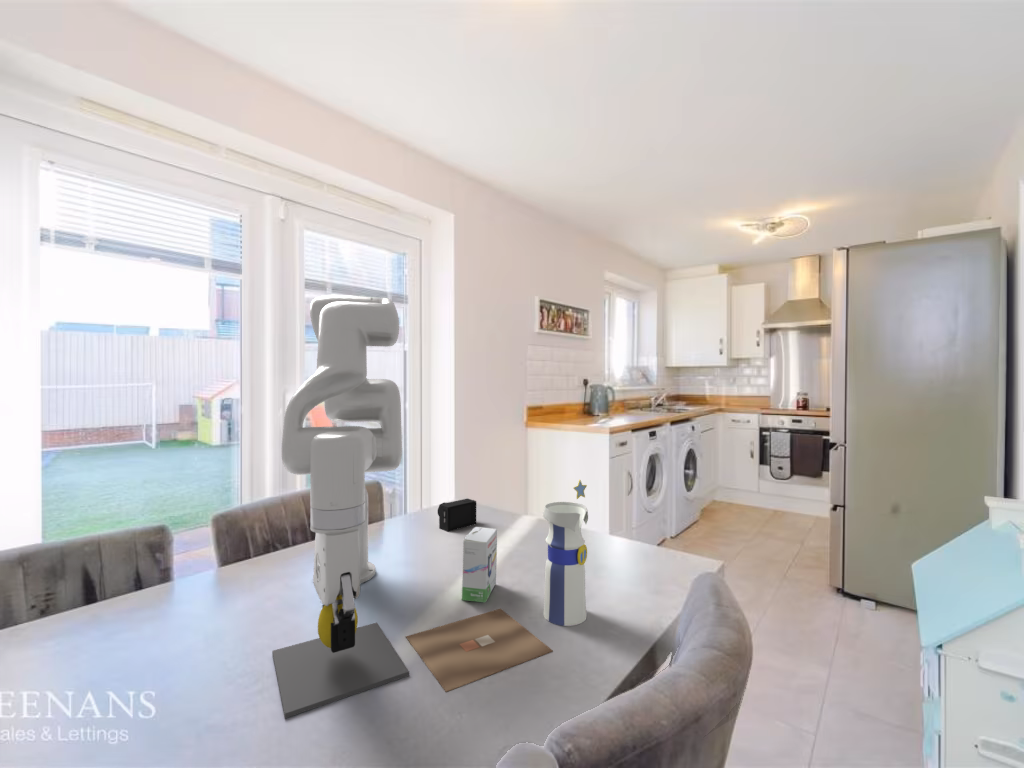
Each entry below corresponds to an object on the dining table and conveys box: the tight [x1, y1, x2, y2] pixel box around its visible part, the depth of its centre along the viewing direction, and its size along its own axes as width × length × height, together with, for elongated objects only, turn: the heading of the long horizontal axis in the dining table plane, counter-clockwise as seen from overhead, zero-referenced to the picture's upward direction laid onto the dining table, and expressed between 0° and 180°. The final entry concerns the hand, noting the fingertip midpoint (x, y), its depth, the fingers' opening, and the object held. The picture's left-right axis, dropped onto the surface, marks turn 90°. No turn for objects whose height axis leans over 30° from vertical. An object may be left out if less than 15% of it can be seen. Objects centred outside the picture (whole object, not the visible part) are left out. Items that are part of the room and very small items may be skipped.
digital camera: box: [437, 498, 477, 533], centre depth 136 cm, size 10×5×7 cm, turn 134°
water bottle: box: [542, 479, 589, 627], centre depth 84 cm, size 8×9×25 cm
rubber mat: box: [271, 622, 410, 719], centre depth 69 cm, size 16×16×1 cm
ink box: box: [461, 526, 498, 603], centre depth 93 cm, size 9×5×12 cm, turn 168°
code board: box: [405, 608, 554, 693], centre depth 75 cm, size 16×18×1 cm
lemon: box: [317, 595, 359, 648], centre depth 69 cm, size 6×6×8 cm
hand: (338, 637), depth 69 cm, fingers closed on lemon, 5 cm apart
